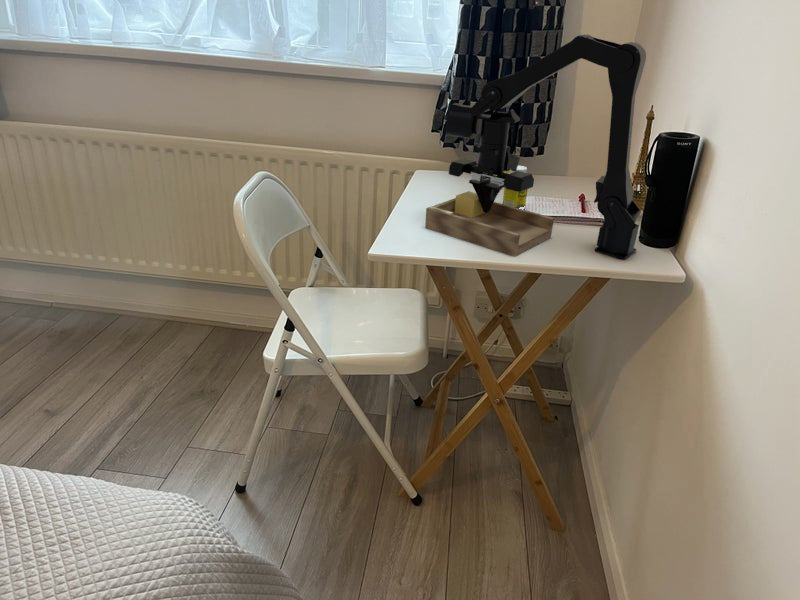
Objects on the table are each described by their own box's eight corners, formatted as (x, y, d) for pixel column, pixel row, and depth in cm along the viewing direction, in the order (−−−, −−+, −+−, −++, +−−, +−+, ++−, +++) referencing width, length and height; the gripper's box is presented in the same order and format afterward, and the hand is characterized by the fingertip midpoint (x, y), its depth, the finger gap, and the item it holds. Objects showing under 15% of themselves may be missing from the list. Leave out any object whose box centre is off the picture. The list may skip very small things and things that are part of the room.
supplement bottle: (517, 213, 145) (522, 171, 141) (497, 208, 149) (502, 167, 144) (529, 208, 149) (534, 167, 144) (510, 203, 152) (514, 163, 148)
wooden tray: (550, 237, 131) (554, 216, 129) (514, 256, 121) (517, 233, 119) (464, 212, 145) (466, 192, 142) (425, 227, 134) (426, 206, 132)
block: (485, 212, 139) (486, 195, 137) (472, 217, 135) (474, 200, 134) (467, 207, 142) (468, 191, 140) (454, 212, 138) (455, 195, 136)
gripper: (551, 144, 129) (541, 214, 136) (478, 129, 139) (472, 195, 146) (524, 152, 121) (514, 225, 128) (449, 136, 132) (444, 205, 139)
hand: (486, 212), depth 136 cm, fingers closed
